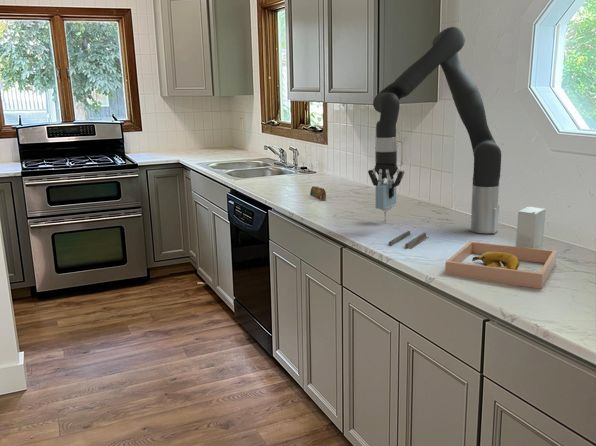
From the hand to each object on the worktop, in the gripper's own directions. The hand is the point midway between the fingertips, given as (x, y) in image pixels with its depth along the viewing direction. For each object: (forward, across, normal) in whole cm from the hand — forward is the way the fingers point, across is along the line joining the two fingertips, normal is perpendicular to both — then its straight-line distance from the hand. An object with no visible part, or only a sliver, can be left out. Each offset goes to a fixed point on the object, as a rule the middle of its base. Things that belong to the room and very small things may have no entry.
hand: (386, 197), depth 207 cm
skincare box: (+15, -50, +1) cm, 52 cm away
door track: (+15, -11, +6) cm, 19 cm away
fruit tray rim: (+15, -46, +21) cm, 53 cm away
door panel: (+3, 0, 0) cm, 3 cm away
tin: (+15, +55, -47) cm, 74 cm away
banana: (+16, -44, +25) cm, 53 cm away
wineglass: (+15, +6, -14) cm, 22 cm away
